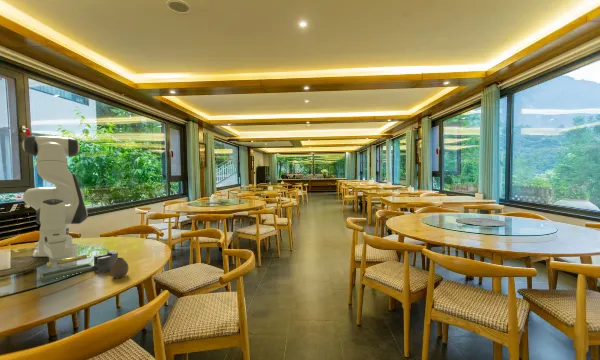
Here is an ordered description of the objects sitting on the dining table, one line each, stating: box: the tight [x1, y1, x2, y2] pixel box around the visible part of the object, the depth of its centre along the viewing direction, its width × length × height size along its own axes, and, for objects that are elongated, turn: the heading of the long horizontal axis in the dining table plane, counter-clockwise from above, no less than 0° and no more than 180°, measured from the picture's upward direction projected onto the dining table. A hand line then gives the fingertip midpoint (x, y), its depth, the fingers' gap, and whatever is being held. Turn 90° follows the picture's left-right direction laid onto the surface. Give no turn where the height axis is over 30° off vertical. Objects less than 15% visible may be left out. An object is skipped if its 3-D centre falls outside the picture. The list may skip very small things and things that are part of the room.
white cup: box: [58, 243, 79, 268], centre depth 136 cm, size 8×8×10 cm
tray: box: [38, 262, 95, 283], centre depth 124 cm, size 7×18×2 cm, turn 143°
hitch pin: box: [46, 254, 88, 268], centre depth 124 cm, size 14×2×2 cm, turn 143°
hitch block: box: [93, 249, 119, 274], centre depth 131 cm, size 7×8×8 cm
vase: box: [110, 257, 129, 279], centre depth 122 cm, size 7×7×9 cm
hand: (53, 265), depth 120 cm, fingers closed on hitch pin, 2 cm apart
